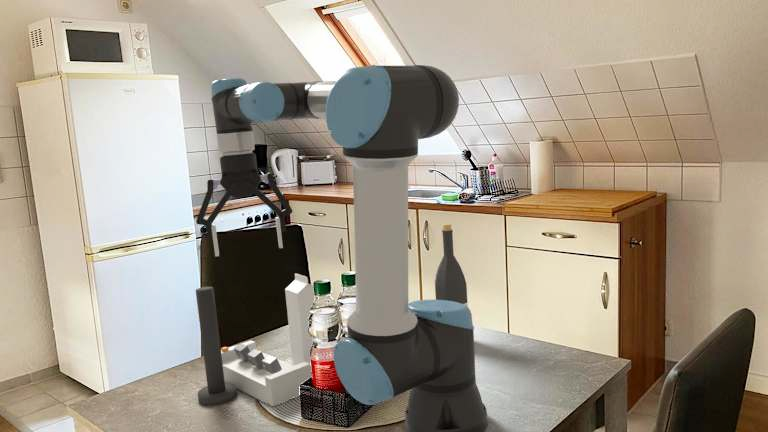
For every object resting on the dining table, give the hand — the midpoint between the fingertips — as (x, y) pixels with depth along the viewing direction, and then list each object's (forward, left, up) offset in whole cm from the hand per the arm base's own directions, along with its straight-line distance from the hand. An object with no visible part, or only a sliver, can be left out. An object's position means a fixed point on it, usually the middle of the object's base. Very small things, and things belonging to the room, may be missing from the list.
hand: (249, 251), depth 139 cm
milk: (-1, -12, -30) cm, 33 cm away
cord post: (+1, +11, -30) cm, 32 cm away
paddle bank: (-1, +1, -26) cm, 26 cm away
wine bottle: (-19, -43, -30) cm, 56 cm away
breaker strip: (-1, +1, -30) cm, 30 cm away
